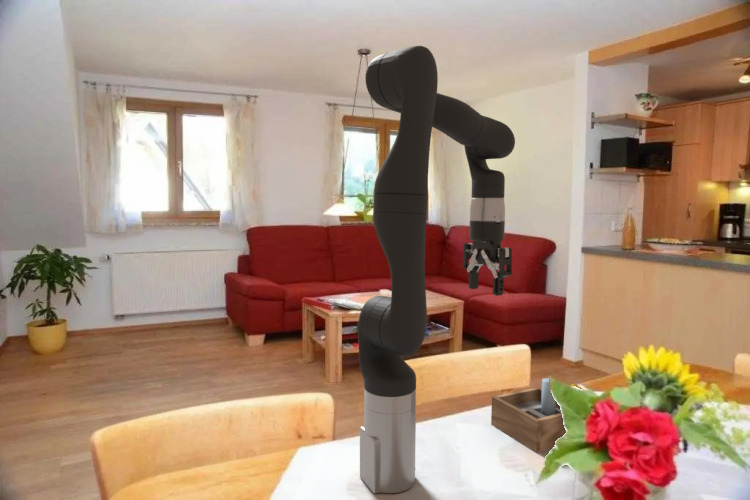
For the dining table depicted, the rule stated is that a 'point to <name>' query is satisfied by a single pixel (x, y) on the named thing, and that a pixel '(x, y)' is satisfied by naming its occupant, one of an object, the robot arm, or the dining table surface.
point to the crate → (527, 419)
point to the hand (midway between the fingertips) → (485, 291)
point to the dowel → (547, 399)
